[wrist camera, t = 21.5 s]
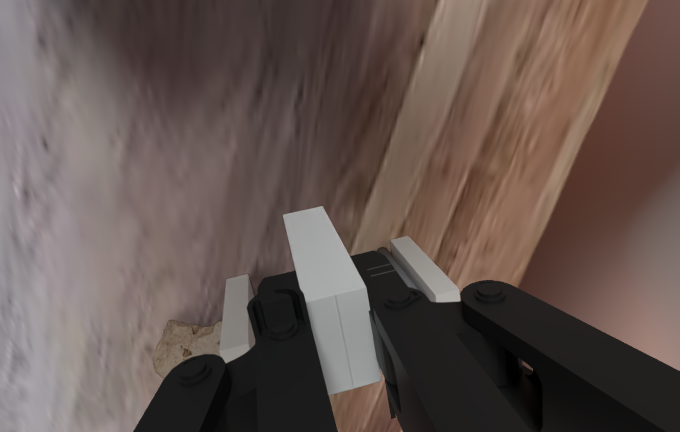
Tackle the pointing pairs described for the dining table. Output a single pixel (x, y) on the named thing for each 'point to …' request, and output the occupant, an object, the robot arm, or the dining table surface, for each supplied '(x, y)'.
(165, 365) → the stone
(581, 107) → the dining table surface
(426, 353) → the robot arm
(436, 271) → the pair of grey bars
